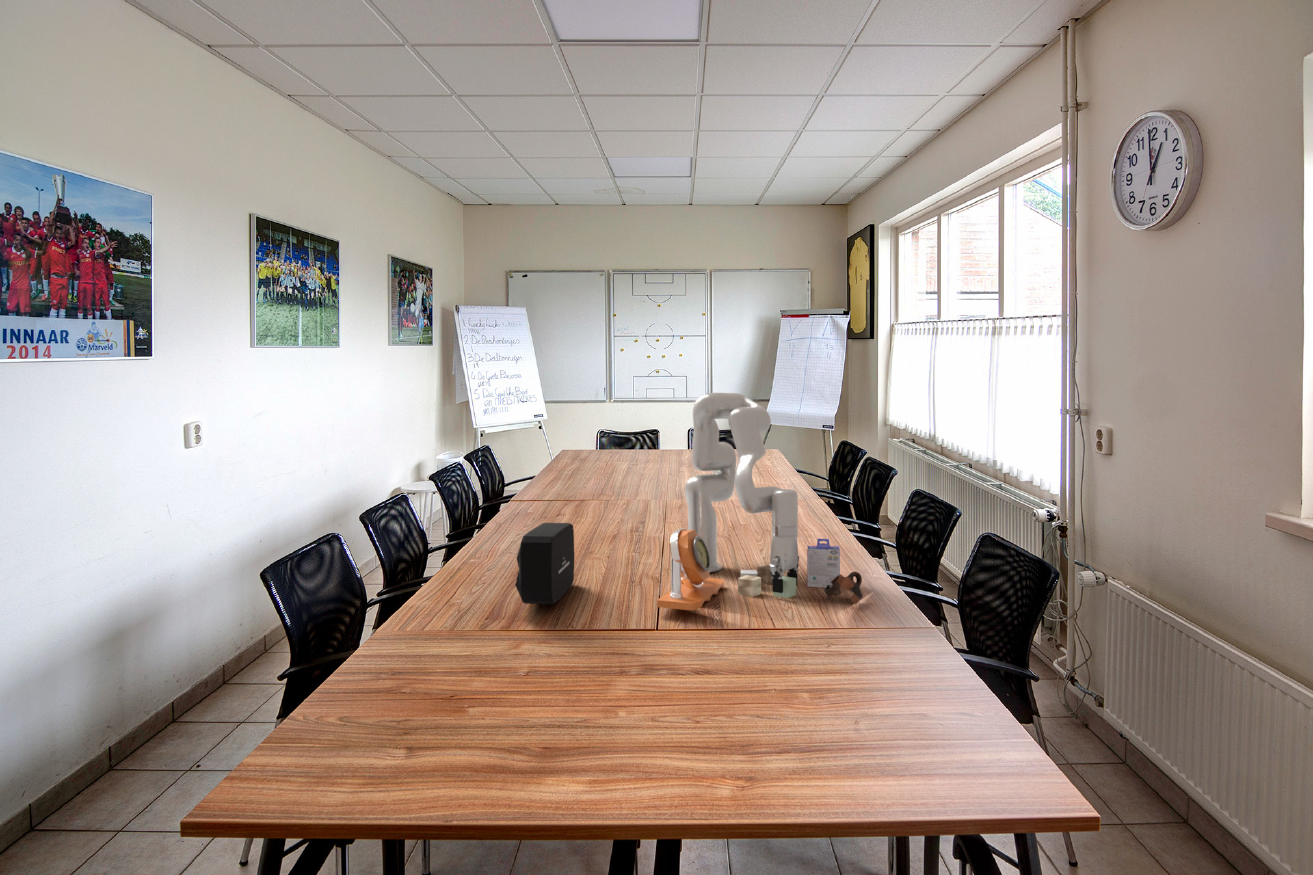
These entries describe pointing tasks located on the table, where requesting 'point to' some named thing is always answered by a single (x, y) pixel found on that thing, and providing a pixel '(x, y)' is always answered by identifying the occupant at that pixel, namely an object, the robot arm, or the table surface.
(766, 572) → the walnut cube
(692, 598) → the desk clock
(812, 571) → the ink cartridge box
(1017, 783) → the table surface
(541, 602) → the black hard case
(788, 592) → the sage cube
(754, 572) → the grey cube
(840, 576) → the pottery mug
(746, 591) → the maple cube
